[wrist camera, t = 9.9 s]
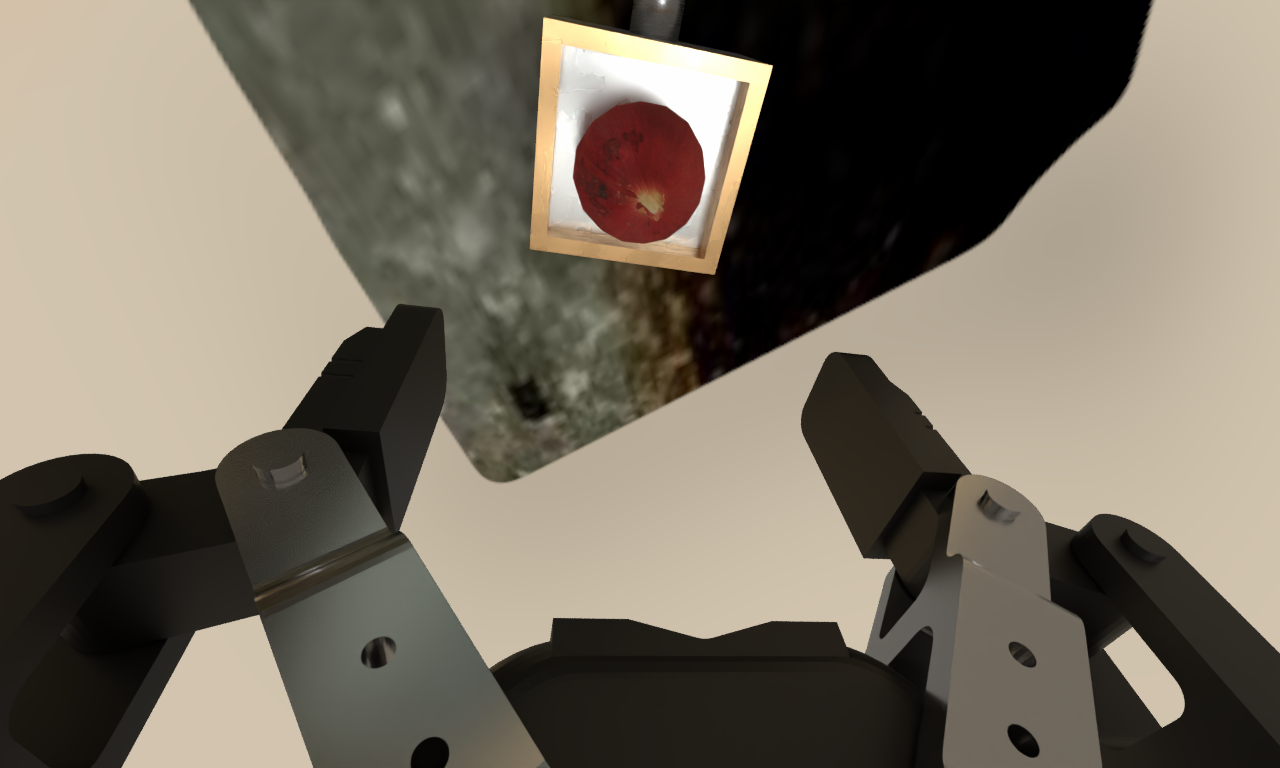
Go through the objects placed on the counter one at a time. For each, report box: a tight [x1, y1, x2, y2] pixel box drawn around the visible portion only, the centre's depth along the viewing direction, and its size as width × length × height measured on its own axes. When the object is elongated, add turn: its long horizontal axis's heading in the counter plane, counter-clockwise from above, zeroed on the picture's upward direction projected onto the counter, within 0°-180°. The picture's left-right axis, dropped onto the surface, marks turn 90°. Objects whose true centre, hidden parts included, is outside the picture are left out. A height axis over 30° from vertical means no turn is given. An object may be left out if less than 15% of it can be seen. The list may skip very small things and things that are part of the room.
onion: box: [573, 101, 705, 244], centre depth 23 cm, size 6×6×8 cm
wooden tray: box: [530, 0, 773, 275], centre depth 27 cm, size 13×10×6 cm
